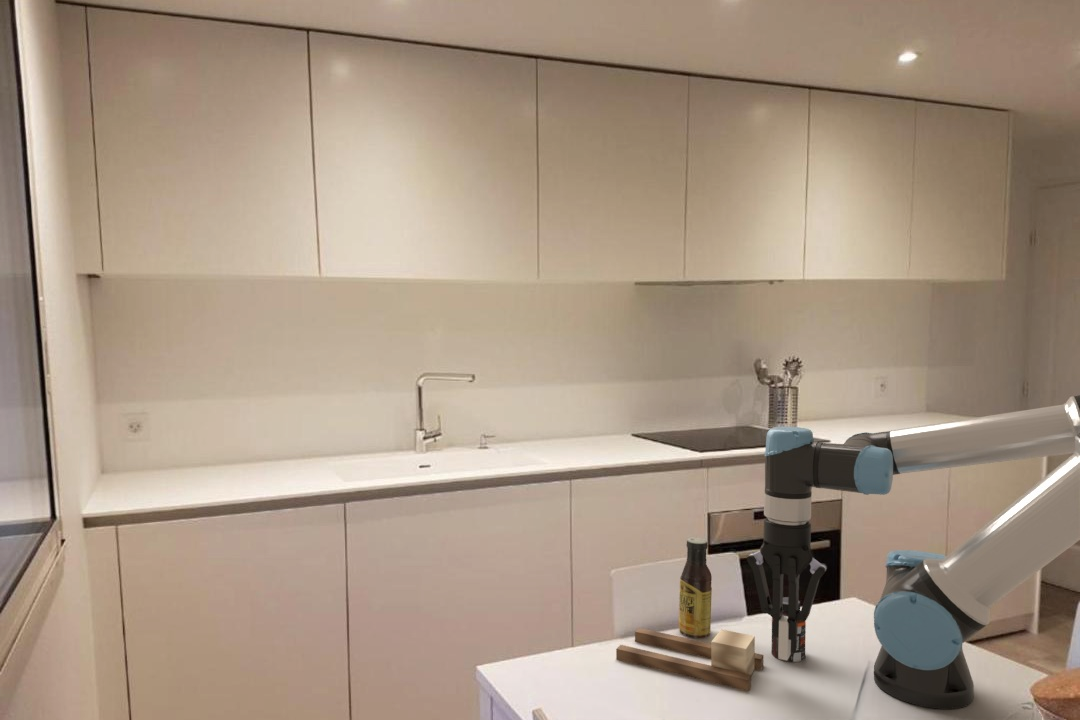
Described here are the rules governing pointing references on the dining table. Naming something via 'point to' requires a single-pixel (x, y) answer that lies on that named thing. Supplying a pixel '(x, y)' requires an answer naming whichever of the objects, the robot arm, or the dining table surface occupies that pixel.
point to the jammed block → (733, 651)
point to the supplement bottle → (796, 645)
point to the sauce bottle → (695, 591)
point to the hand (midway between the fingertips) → (784, 656)
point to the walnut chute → (682, 665)
